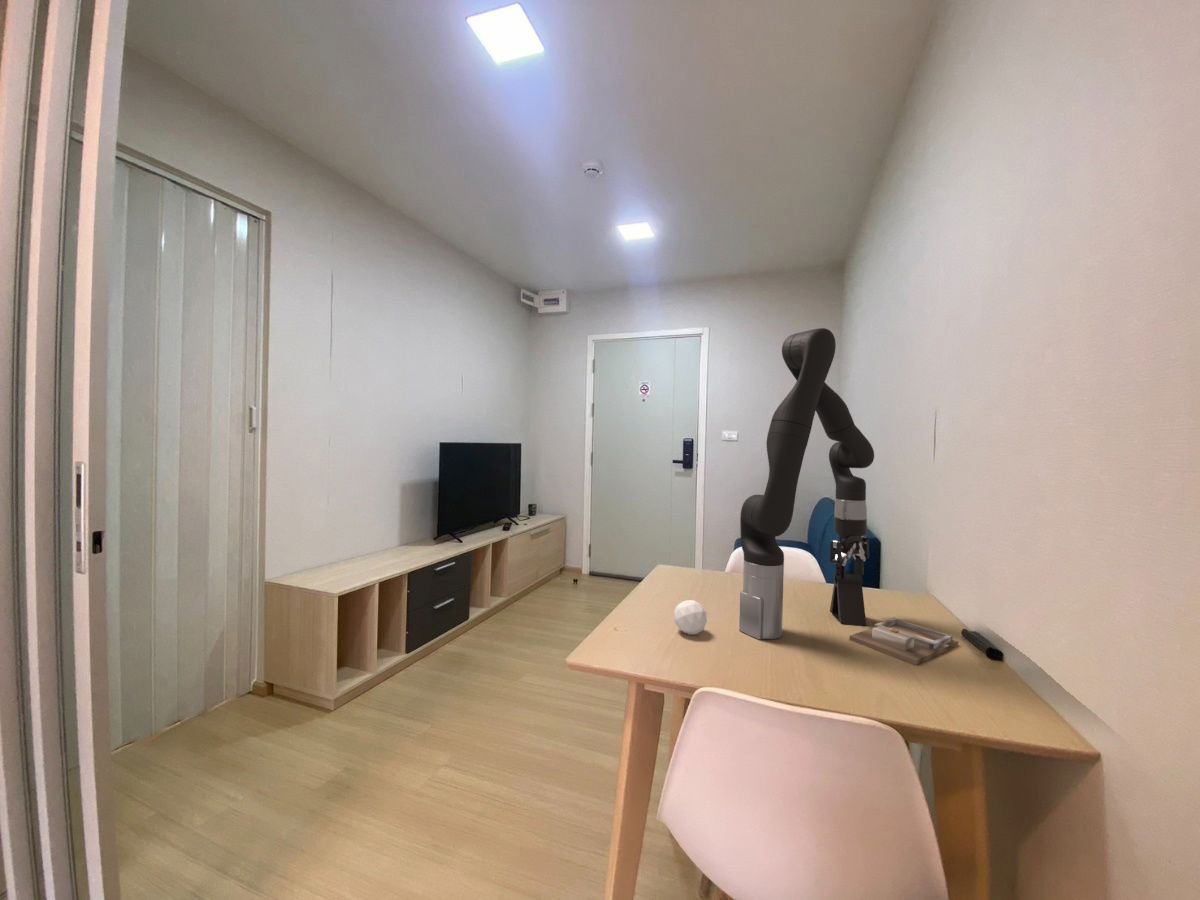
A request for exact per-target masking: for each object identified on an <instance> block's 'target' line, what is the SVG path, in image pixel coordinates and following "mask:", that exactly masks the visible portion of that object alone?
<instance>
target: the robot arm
mask: <svg viewBox="0 0 1200 900" xmlns="http://www.w3.org/2000/svg"><path fill="white" fill-rule="evenodd" d="M782 343H783V344H782V346H781V354H782V359H783V361H784V362H785V365H786V367H787V368H788V370H789V371H790V373H791V374H792V376H793V378H794V380H796V382H795V384H794V386H793V387H792V389H791V390H790V391H789V392H788V394H787V395H786V396H785V397H784V399H783V400H782V401H781V402H780V404H779V405H778V406H777V408H776V410H775V411H774V413H773V415H772V417H771V420H770V424H769V428H768V432H767V437H766V453H767V460H768V467H769V469H768V470H769V471H768V479H767V483H766V487H765V489H764V493H763V494H753V495H751V496H749V497H747V498H746V500H744V502H743V503H742V506H741V510H740V519H739V520H740V547H741V548H742V552H743V573H742V574H743V576H742V578H743V579H742V580H743V581H742V591H740V592H739V593H740V594H739V622H738V624H739V628H738V629H739V630H738V631H740V632H742V633H745V634H747V635H748V636H751V637H753V638H755V639H758V640H775V639H776V640H777V639H780V638H781V637H782V636H783V618H784V617H783V613H784V610H783V609H784V607H783V606H784V573H785V570H784V569H785V568H784V567H785V554H784V551H783V550H782V548H781V547H780V545H779V544H778V542H777V539H776V537H779V536H781V535H783V534H785V532H786V531H787V530H788V529H789V528H790V525H791V523H792V519H793V515H794V510H795V509H794V508H795V503H796V494H797V488H798V483H799V479H800V475H801V474H800V473H801V471H802V470H801V469H802V465H803V462H804V461H803V460H804V456H805V454H806V449H807V447H808V443H809V439H810V436H811V435H810V434H811V431H812V427H813V422H814V418H815V415H816V414H817V417H818V418H819V421H820V423H821V426H822V428H823V430H824V432H825V435H826V436H827V438H828V439H830V440H832V441H834V444H832V446H831V447H830V449H829V452H828V461H829V464H830V468H831V471H832V475H833V478H834V482H835V502H834V518H833V519H834V521H833V523H834V525H833V526H834V528H833V529H834V530H833V531H834V533H835V534H837V535H838V538H837V539H838V540H836V539H831V540H830V547H829V555H830V556H829V563H831V564H834V565H835V573H836V578H837V579H839V580H845V573H846V571H847V569H846V564H847V561H848V560H850V559H851V557H853V559H854V560H853V574H860V575H861V576H864V575H865V574H864V573H865V569H864V568H865V564H864V563H865V562H866V559H869V558H870V538H869V536H867V532H868V529H867V528H868V526H867V525H868V524H867V523H868V518H867V517H868V513H867V512H868V507H867V498H866V497H867V483H866V480H865V479H864V478H862V477H859V476H856V475H854V474H853V473H852V471H851V469H866V468H868V467H870V466H871V465H872V464H873V462H874V460H875V450H874V449H873V446H872V444H871V443H870V441H869V440H868V439H867V437H866V436H865V434H863V432H862V431H861V430H860V428H858V427H857V426H856V424H855V422H854V419H853V417H852V415H851V412H850V409H849V407H848V405H847V404H846V402H845V401H844V399H843V398H842V397H841V396H840V395H839V394H838V393H837V392H836V391H835V390H834V389H833V388H831V386H829V385H828V384H827V383H826V380H827V376H828V374H829V372H830V369H831V366H832V364H833V361H834V358H835V353H836V346H837V344H836V338H835V335H834V333H833V332H832V331H831V330H830V329H828V328H824V327H821V328H814V329H809V330H805V331H801V332H800V331H799V332H796V333H794V334H790V335H789V336H787V337H786V338H785V339H784V341H783V342H782Z"/></svg>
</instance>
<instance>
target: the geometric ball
mask: <svg viewBox="0 0 1200 900" xmlns="http://www.w3.org/2000/svg"><path fill="white" fill-rule="evenodd" d="M707 617H708V616H707V611H706V610H705V608H704V606H703V605H702V604H701V603H699V602H697V601H695V600H694V599H692V600H691V599H690V600H683V601H682V602H680V603H678V604H677V605H676V607H675V610H674V612H673V619H674V620H673V622H674V624H675V625H676V626H677V628H678V629H679V631H681V632H682V633H684V634H686V633H687V634H688V635H697V634H699V633H700V632H702V631H703V630H704V629H705V627H706V625H707V621H708V620H707ZM687 634H686V635H687Z"/></svg>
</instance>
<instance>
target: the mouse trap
mask: <svg viewBox="0 0 1200 900" xmlns="http://www.w3.org/2000/svg"><path fill="white" fill-rule="evenodd" d="M953 638H954V637H953V635H950V634H948V633H944V632H941V631H937V630H935V629H932V628H931V629H930V628H927V627H925V626H921V625H919V624H916V623H911V622H908V621H905V620H902V619H899V618H896V617H892V618H889V619H887V620H883V621H880V622H877V623H875V624H873V627H871V628H867V629H865V630H862V631H859V632H857V633H853V634H851V635H849V641H851V640H852V642H854V641H855V642H854V643H856V642H857V643H856V644H859V643H860V644H859V645H862V644H863V645H862V646H864V645H865V646H864V647H867V648H870V649H873V650H875V651H878V652H881V653H883V654H886V655H888V656H891V657H894V658H896V659H899V660H901V661H904V662H906V663H909V664H912V665H915V666H918V665H920V664H922V663H924V662H926V661H928V660H931V659H934V657H937V656H939V655H942V654H944V653H945V652H948V651H950V650H952V649H954V648H956V647H958V646H959V640H956V639H953Z"/></svg>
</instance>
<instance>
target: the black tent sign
mask: <svg viewBox="0 0 1200 900" xmlns="http://www.w3.org/2000/svg"><path fill="white" fill-rule="evenodd" d="M833 576H834V577H833V578H834V583H833V589H832V594H831V600H830V601H831V602H830V605H829V606H830V607H829V613H830V612H831V613H832V614H831V613H830V614H831V615H832V616H833V617H834V618H835V619H836V620H837V621H838V623H839V622H840V623H841V624H840V623H839V624H840V625H848V624H853V625H852V626H859V625H866V626H867V619H866V612H865V611H866V610H865V602H864V601H865V600H864V591H863V581H864V580H863V577H862V576H863V575H860V574H855V573H847V572H845V580H839V579H837V578H836V572H835V573H834V575H833Z"/></svg>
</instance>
